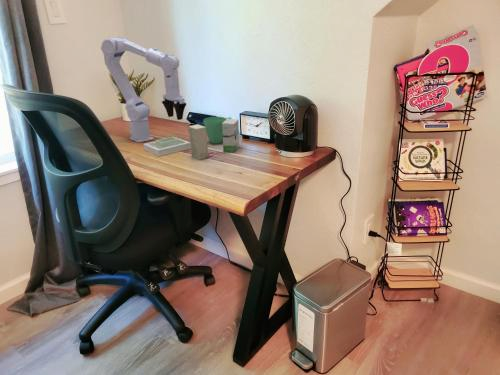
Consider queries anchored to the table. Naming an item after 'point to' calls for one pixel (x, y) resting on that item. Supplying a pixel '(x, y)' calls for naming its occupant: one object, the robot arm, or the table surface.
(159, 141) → the small crate
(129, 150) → the table surface
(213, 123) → the mug
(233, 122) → the ink box
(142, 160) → the table surface
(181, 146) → the white square tray
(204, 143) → the skincare box
